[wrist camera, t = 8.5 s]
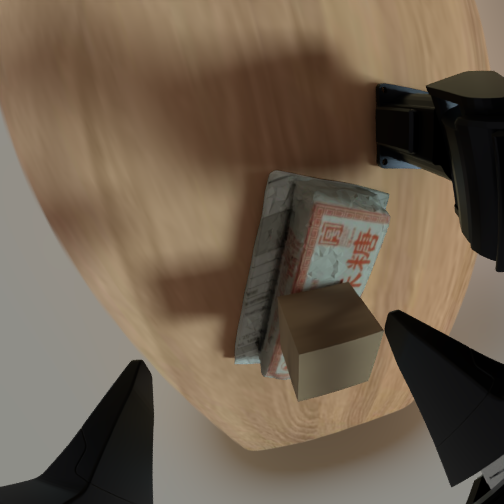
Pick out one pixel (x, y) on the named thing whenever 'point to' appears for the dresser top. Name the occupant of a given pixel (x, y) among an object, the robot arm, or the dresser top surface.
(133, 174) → the dresser top surface
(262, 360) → the packaged product
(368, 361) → the walnut block
